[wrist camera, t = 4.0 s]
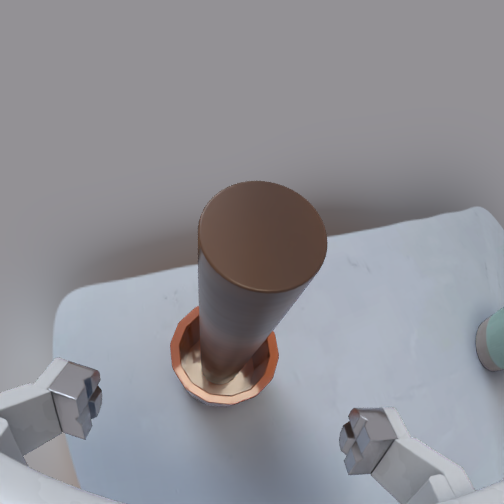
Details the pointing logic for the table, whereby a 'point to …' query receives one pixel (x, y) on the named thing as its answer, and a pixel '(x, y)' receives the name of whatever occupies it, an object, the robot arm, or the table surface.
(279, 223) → the brown wooden rod
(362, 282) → the table surface
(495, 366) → the coffee cup
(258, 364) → the crock
